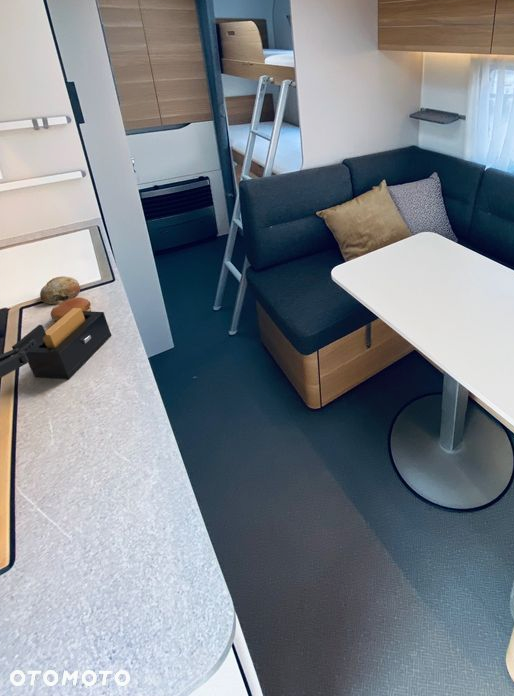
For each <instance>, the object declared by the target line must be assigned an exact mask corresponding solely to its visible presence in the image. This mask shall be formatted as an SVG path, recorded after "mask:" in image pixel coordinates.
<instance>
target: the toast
mask: <svg viewBox="0 0 514 696" xmlns="http://www.w3.org/2000/svg"><path fill="white" fill-rule="evenodd" d="M84 321H85V318H84V315H83V312H82V309H81V308H73V309H72V310H70V311H69V312H68V313H67V314H66V315H64V316H63V317H62V318H61V319H60V320H58V321H57V322H56V323H55V324H54V323H53V325H51V326H50V327H49V328H48V329H46V330H45V333H46V336H44V337H43V340H44V342H45V345H46V347H47V348H56V347H57V346H58V345H59V344H60V343H61V342H62V341H63V340H64V339H65V338H67V337H68V336H69V335H70V334H71V333H72V332H73V331H74V330H75V329H77V328H78V327H79V326H80V325H81V324H82V323H83V322H84Z"/></svg>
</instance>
